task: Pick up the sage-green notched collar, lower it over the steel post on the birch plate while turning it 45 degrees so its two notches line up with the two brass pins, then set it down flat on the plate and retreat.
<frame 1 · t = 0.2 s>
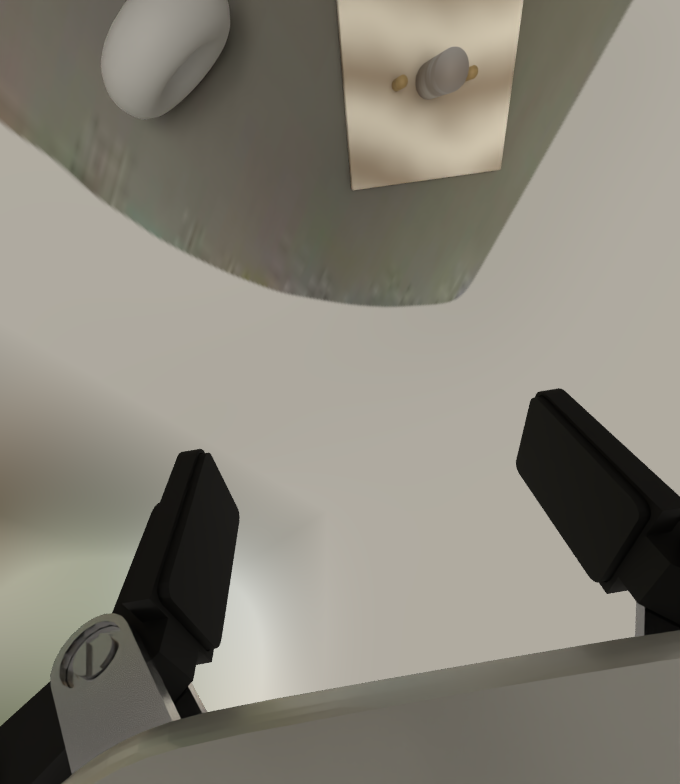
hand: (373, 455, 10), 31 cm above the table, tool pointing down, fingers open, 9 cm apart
post base: (426, 82, 29), on the table
donut: (187, 64, 27), on the table
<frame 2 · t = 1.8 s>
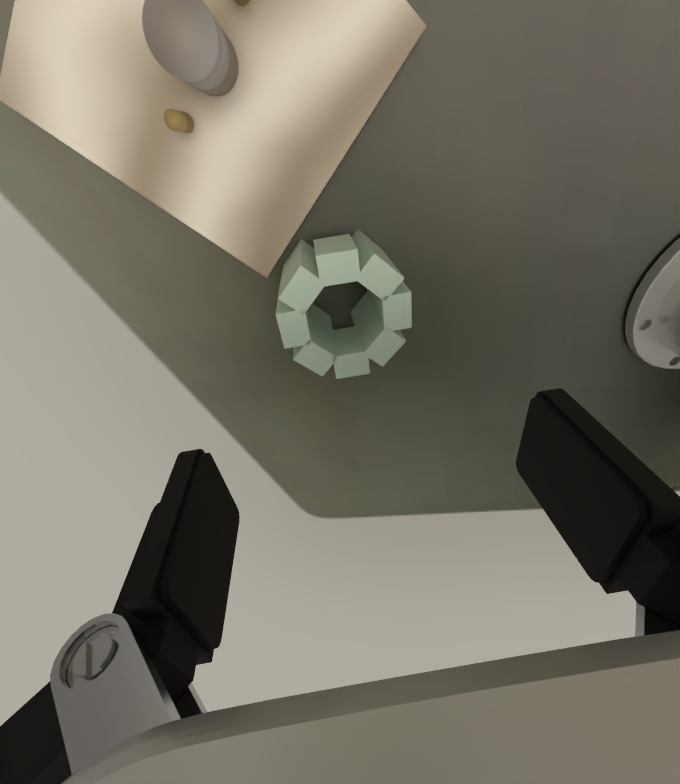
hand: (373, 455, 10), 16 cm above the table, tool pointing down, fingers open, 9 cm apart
post base: (215, 65, 17), on the table
collar: (336, 284, 23), on the table
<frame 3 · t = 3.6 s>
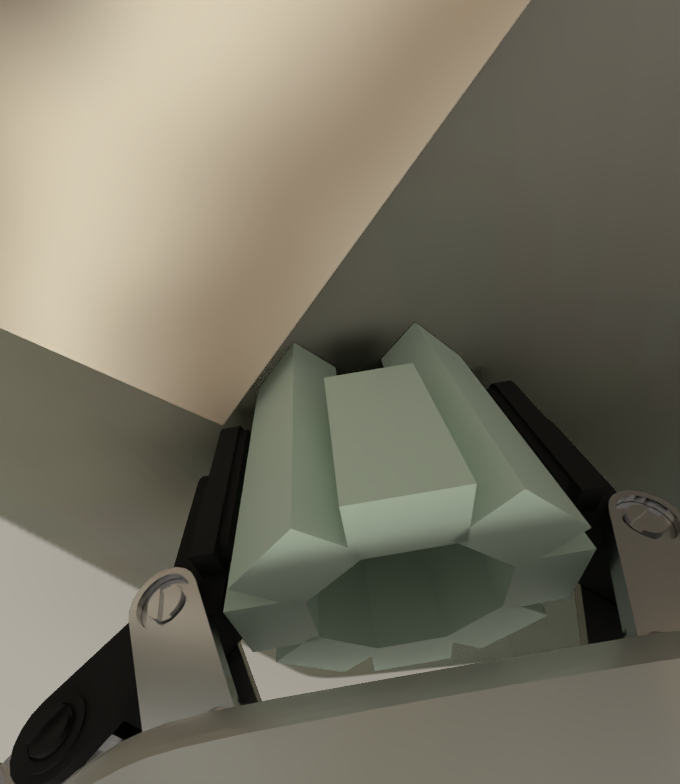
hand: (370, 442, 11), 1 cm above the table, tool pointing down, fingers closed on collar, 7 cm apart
collar: (364, 416, 12), on the table, touching gripper
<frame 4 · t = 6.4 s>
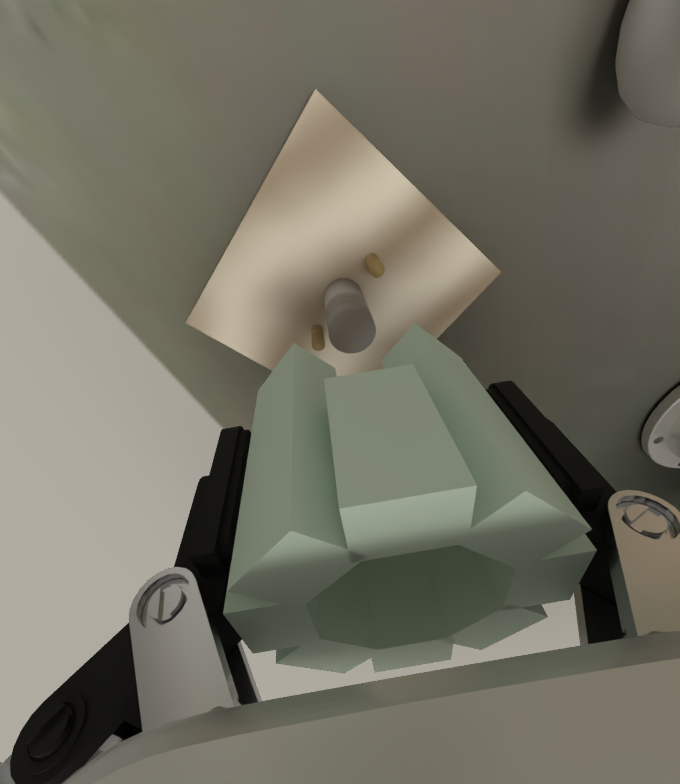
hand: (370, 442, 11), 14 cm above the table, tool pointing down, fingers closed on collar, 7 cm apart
post base: (341, 292, 23), on the table
collar: (364, 417, 12), point 13 cm above the table, touching gripper
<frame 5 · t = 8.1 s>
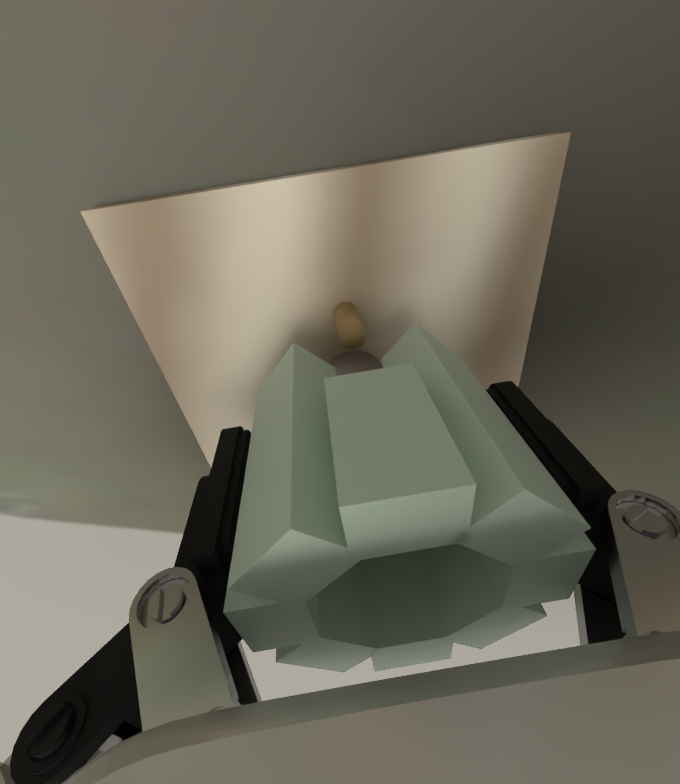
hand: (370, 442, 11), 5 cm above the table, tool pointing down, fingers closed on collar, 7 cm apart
post base: (350, 364, 15), on the table
collar: (364, 416, 12), point 3 cm above the table, touching gripper
when the fingers open (3 cm above the table, at t = 9.4 s): collar stays where it is, resting on post base.
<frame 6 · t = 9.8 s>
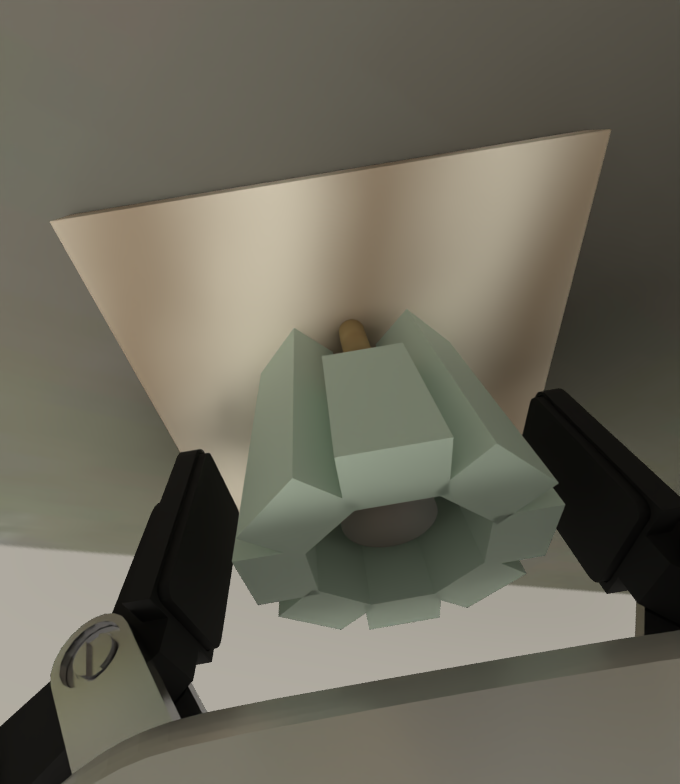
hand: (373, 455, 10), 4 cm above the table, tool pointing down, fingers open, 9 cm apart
post base: (356, 384, 14), on the table
collar: (360, 399, 13), point 1 cm above the table, touching post base
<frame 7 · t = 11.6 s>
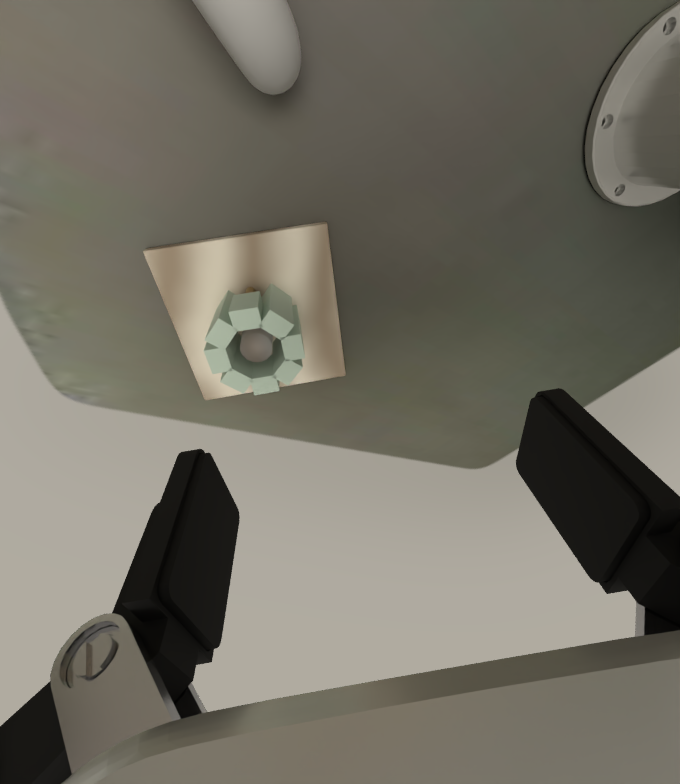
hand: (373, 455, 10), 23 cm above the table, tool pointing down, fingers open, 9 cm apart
post base: (259, 317, 31), on the table
collar: (259, 322, 31), point 1 cm above the table, touching post base
donut: (232, 11, 21), on the table
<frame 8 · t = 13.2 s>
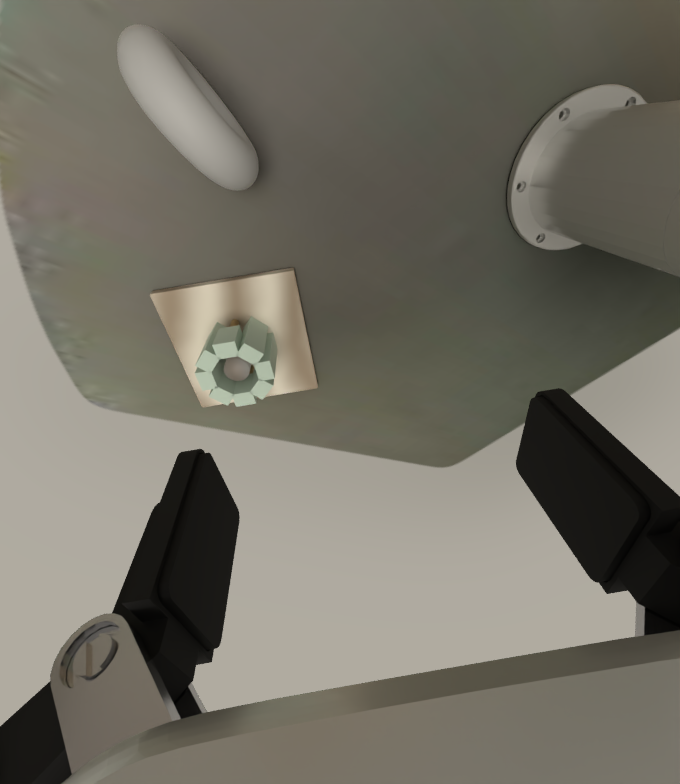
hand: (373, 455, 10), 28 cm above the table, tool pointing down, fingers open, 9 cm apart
post base: (244, 341, 39), on the table
collar: (243, 346, 38), point 1 cm above the table, touching post base
donut: (212, 121, 28), on the table
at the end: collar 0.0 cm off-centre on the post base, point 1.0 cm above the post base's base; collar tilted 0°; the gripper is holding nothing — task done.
